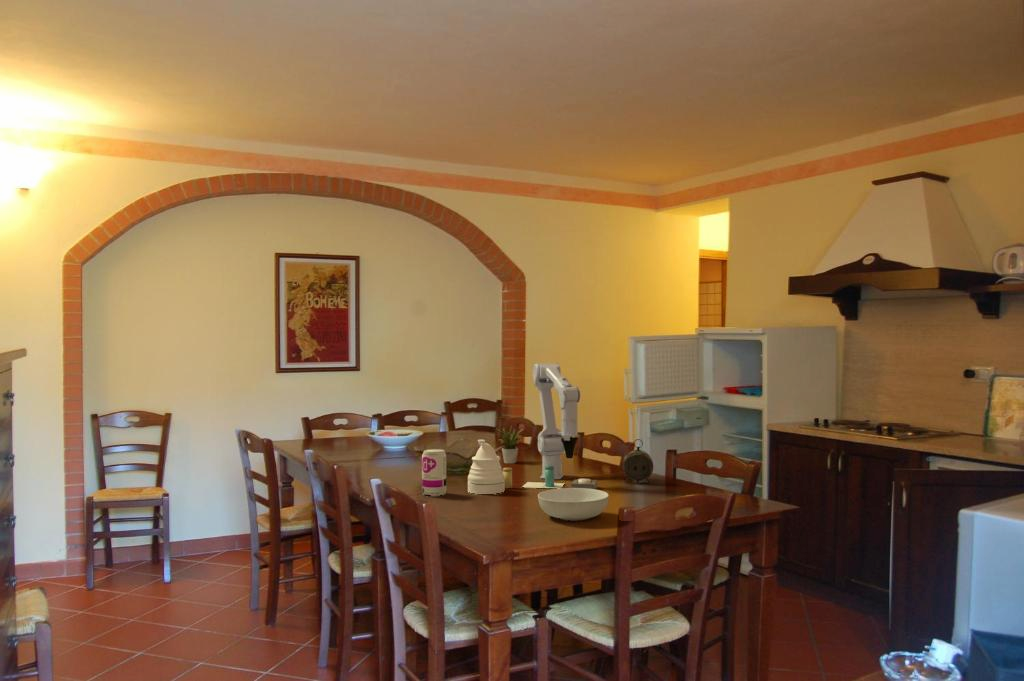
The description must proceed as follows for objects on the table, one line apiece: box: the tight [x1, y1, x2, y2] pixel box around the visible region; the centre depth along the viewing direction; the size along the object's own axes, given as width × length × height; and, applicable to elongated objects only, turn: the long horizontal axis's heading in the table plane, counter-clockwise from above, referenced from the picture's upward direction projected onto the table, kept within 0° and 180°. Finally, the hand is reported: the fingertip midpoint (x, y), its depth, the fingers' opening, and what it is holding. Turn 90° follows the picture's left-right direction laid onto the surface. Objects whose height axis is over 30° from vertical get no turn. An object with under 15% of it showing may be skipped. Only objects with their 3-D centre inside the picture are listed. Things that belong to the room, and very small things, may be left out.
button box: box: [571, 479, 598, 490], centre depth 264 cm, size 8×8×2 cm
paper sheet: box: [521, 481, 566, 489], centre depth 269 cm, size 10×14×1 cm
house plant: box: [495, 425, 524, 464], centre depth 324 cm, size 14×14×16 cm
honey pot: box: [467, 439, 506, 495], centre depth 261 cm, size 13×13×18 cm
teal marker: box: [544, 466, 555, 487], centre depth 267 cm, size 3×3×7 cm
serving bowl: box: [537, 487, 610, 522], centre depth 221 cm, size 21×21×7 cm
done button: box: [577, 478, 592, 483], centre depth 264 cm, size 4×4×3 cm
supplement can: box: [421, 448, 447, 497], centre depth 255 cm, size 8×8×15 cm
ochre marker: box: [502, 467, 513, 489], centre depth 266 cm, size 3×3×7 cm
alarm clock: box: [622, 438, 654, 485], centre depth 274 cm, size 11×5×16 cm, turn 84°
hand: (569, 458), depth 270 cm, fingers closed
